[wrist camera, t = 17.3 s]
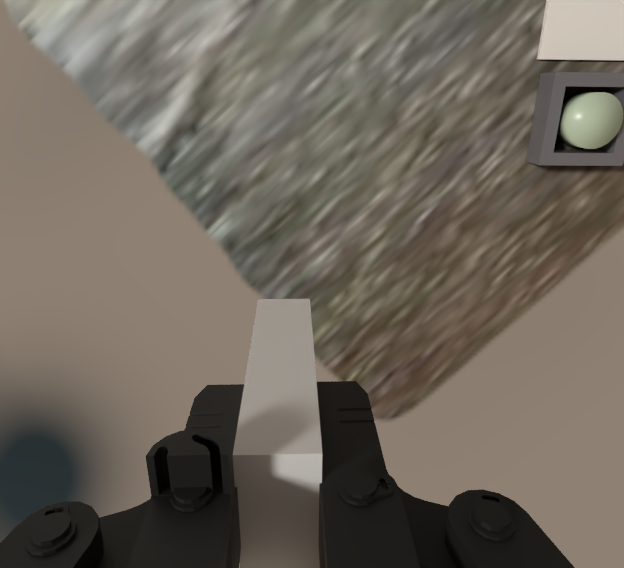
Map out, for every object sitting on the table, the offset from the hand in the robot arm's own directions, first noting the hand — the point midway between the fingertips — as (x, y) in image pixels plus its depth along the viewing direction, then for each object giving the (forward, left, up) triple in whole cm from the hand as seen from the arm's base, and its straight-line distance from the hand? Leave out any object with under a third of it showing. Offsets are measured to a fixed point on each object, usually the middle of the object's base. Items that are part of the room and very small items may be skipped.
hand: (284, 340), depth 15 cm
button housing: (-5, +24, -29) cm, 38 cm away
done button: (-5, +24, -28) cm, 37 cm away
